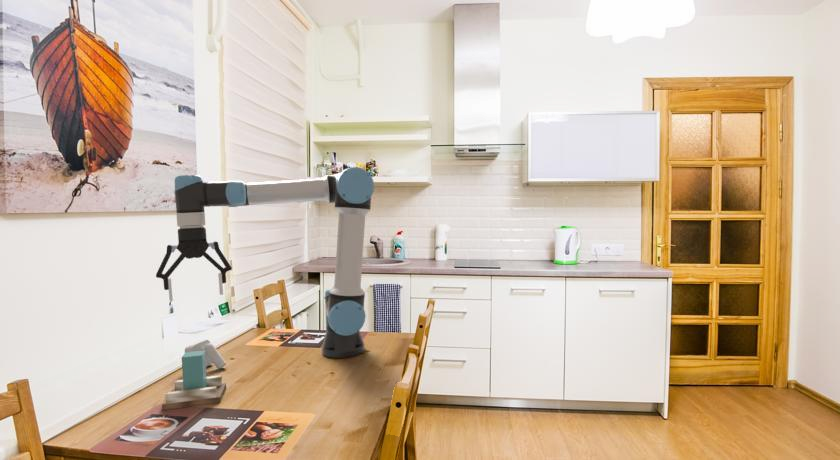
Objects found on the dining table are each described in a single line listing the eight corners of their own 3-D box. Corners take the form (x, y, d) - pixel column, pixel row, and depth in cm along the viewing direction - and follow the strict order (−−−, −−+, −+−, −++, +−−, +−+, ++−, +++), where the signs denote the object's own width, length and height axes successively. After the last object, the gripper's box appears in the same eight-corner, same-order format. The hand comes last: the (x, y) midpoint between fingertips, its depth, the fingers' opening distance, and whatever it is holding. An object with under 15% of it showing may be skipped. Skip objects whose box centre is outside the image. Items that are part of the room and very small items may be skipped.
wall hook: (218, 371, 140) (210, 341, 140) (191, 378, 142) (183, 348, 142) (234, 363, 148) (226, 334, 148) (208, 369, 150) (200, 340, 150)
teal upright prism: (207, 388, 124) (205, 350, 124) (204, 394, 120) (202, 355, 120) (187, 391, 123) (185, 352, 122) (183, 397, 119) (181, 357, 118)
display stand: (226, 388, 128) (225, 374, 128) (220, 402, 118) (219, 387, 118) (172, 394, 124) (171, 381, 124) (162, 410, 115) (161, 395, 115)
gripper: (234, 224, 142) (239, 290, 143) (143, 229, 129) (149, 301, 130) (237, 224, 135) (242, 293, 136) (142, 230, 123) (148, 305, 124)
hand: (196, 297), depth 133 cm, fingers open, 13 cm apart
